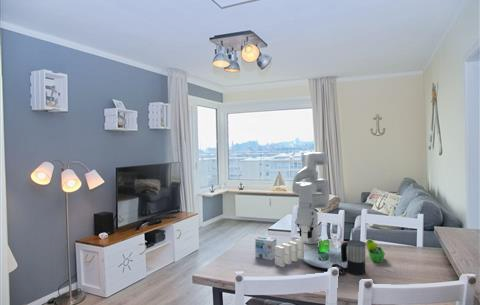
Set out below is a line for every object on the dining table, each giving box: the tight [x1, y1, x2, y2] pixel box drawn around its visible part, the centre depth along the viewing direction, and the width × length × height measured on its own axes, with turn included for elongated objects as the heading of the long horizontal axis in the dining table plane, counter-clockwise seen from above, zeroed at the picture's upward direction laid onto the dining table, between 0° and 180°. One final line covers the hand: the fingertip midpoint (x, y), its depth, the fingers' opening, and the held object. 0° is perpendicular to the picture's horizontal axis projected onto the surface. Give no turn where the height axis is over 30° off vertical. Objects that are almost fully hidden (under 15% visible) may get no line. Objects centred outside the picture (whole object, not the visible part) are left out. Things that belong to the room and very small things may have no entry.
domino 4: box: [294, 238, 305, 260], centre depth 189 cm, size 2×5×10 cm, turn 42°
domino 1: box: [274, 244, 286, 268], centre depth 178 cm, size 2×5×10 cm, turn 42°
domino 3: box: [287, 240, 299, 263], centre depth 185 cm, size 2×5×10 cm, turn 42°
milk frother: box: [331, 239, 367, 276], centre depth 167 cm, size 14×16×15 cm
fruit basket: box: [365, 238, 386, 263], centre depth 186 cm, size 11×9×11 cm
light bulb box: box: [254, 235, 277, 261], centre depth 191 cm, size 11×7×11 cm, turn 62°
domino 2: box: [281, 242, 292, 265], centre depth 182 cm, size 2×5×10 cm, turn 42°
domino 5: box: [300, 225, 310, 242], centre depth 192 cm, size 2×5×10 cm, turn 42°
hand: (305, 236), depth 192 cm, fingers closed on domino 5, 4 cm apart
